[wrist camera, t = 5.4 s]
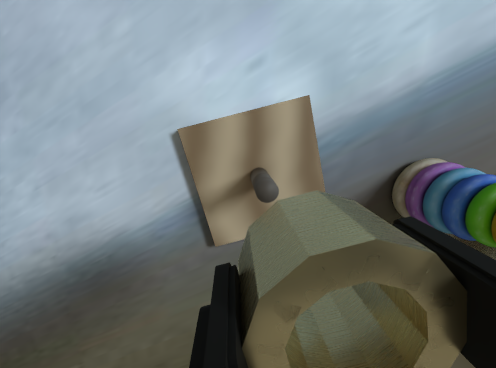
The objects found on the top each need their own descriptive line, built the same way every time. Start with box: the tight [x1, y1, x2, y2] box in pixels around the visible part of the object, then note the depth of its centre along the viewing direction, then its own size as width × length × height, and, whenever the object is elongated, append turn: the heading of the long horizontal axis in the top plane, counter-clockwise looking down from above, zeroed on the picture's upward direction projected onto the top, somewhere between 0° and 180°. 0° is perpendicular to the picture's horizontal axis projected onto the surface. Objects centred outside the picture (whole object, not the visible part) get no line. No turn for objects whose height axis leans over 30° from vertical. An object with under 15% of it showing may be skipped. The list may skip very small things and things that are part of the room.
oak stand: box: [178, 95, 325, 246], centre depth 23 cm, size 14×14×7 cm
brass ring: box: [238, 190, 467, 368], centre depth 8 cm, size 6×6×4 cm
